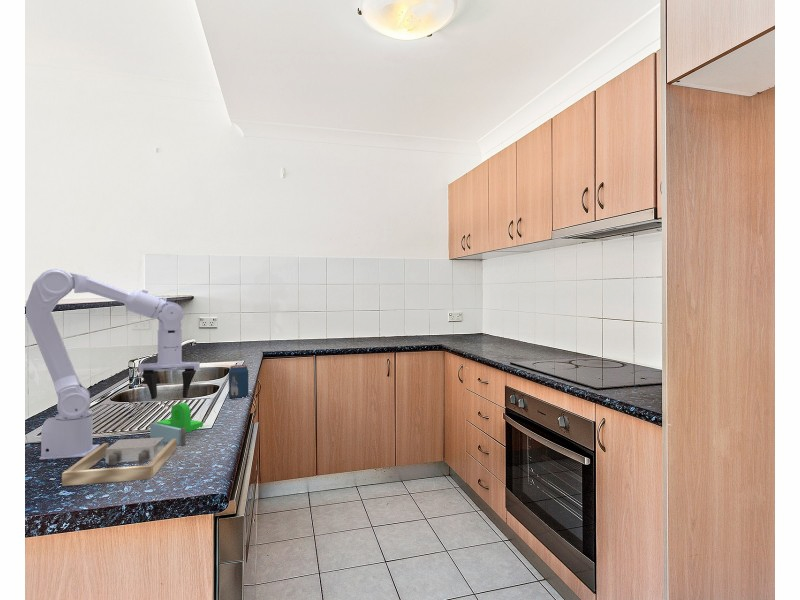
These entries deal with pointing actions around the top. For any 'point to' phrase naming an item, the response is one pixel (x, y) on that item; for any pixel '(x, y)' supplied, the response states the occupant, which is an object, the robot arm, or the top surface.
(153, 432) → the bar
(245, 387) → the dark blue carton
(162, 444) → the block
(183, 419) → the mechanical part
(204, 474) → the top surface
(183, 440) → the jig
